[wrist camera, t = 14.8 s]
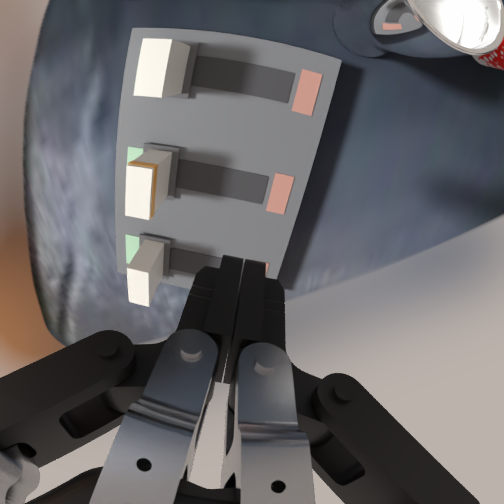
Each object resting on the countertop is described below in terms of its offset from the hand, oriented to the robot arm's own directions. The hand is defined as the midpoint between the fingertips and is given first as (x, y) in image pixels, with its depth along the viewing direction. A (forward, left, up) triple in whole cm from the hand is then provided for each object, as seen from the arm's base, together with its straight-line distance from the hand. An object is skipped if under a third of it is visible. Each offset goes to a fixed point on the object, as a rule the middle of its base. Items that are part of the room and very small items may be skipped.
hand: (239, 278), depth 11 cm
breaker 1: (+8, -6, -15) cm, 18 cm away
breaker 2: (+8, +11, -15) cm, 21 cm away
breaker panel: (+4, +3, -19) cm, 19 cm away
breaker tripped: (+8, +3, -15) cm, 17 cm away
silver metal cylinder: (-7, -14, -19) cm, 25 cm away
